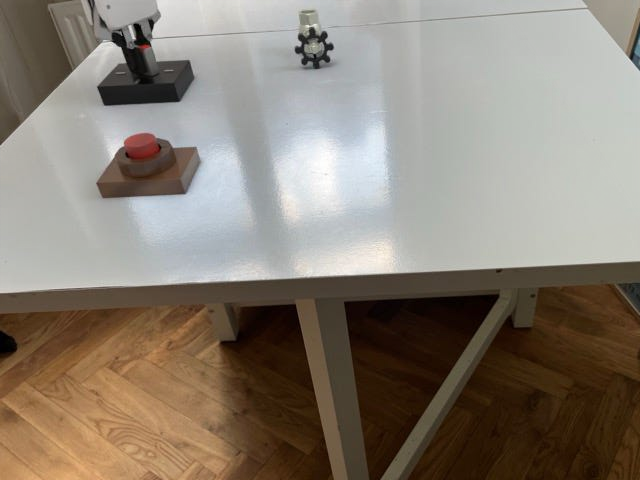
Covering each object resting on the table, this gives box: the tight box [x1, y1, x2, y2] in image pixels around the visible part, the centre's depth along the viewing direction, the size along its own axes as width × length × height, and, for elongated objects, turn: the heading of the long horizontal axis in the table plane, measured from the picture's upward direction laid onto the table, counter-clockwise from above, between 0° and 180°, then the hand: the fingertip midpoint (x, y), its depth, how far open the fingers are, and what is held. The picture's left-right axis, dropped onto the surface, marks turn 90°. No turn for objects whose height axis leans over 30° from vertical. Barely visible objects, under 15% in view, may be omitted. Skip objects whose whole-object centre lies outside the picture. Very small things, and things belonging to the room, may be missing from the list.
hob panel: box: [96, 59, 195, 106], centre depth 90 cm, size 12×10×3 cm
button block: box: [95, 137, 202, 199], centre depth 68 cm, size 10×8×4 cm
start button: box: [123, 132, 159, 159], centre depth 66 cm, size 4×4×2 cm
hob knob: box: [130, 44, 160, 76], centre depth 87 cm, size 5×2×4 cm, turn 62°
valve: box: [294, 8, 335, 70], centre depth 97 cm, size 7×7×12 cm
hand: (143, 69), depth 88 cm, fingers closed on hob knob
